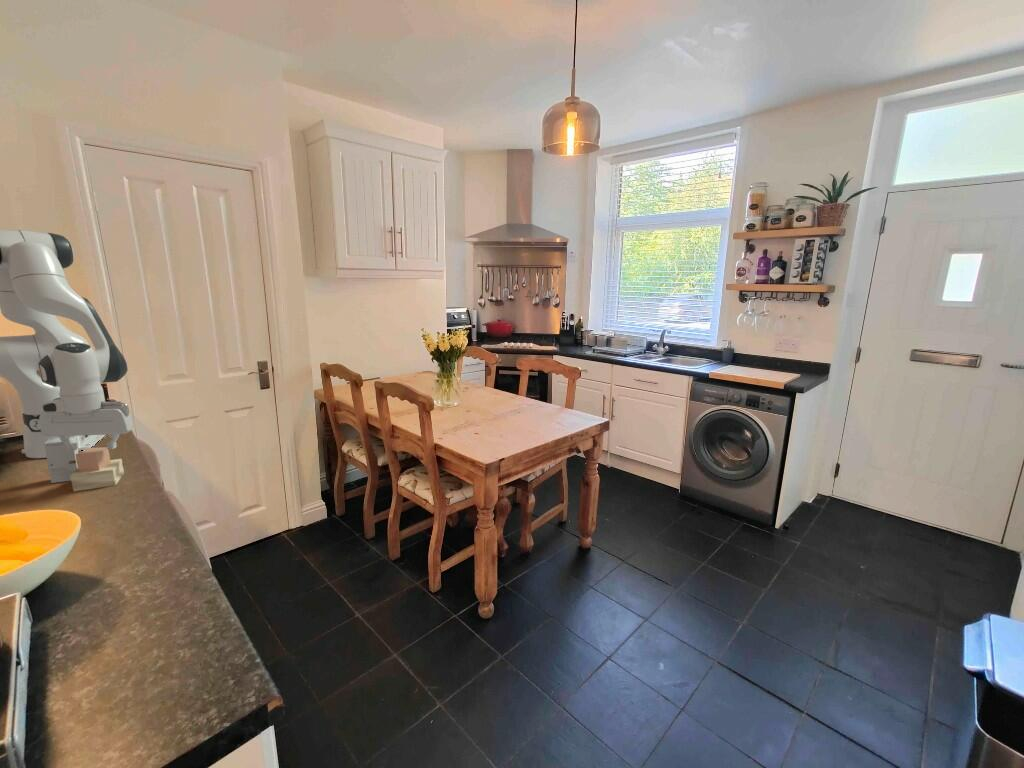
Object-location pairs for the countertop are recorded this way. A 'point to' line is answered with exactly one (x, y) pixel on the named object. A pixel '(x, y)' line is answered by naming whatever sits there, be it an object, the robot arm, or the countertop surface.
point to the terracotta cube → (93, 459)
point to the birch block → (98, 476)
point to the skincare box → (60, 459)
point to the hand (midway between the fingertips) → (92, 449)
